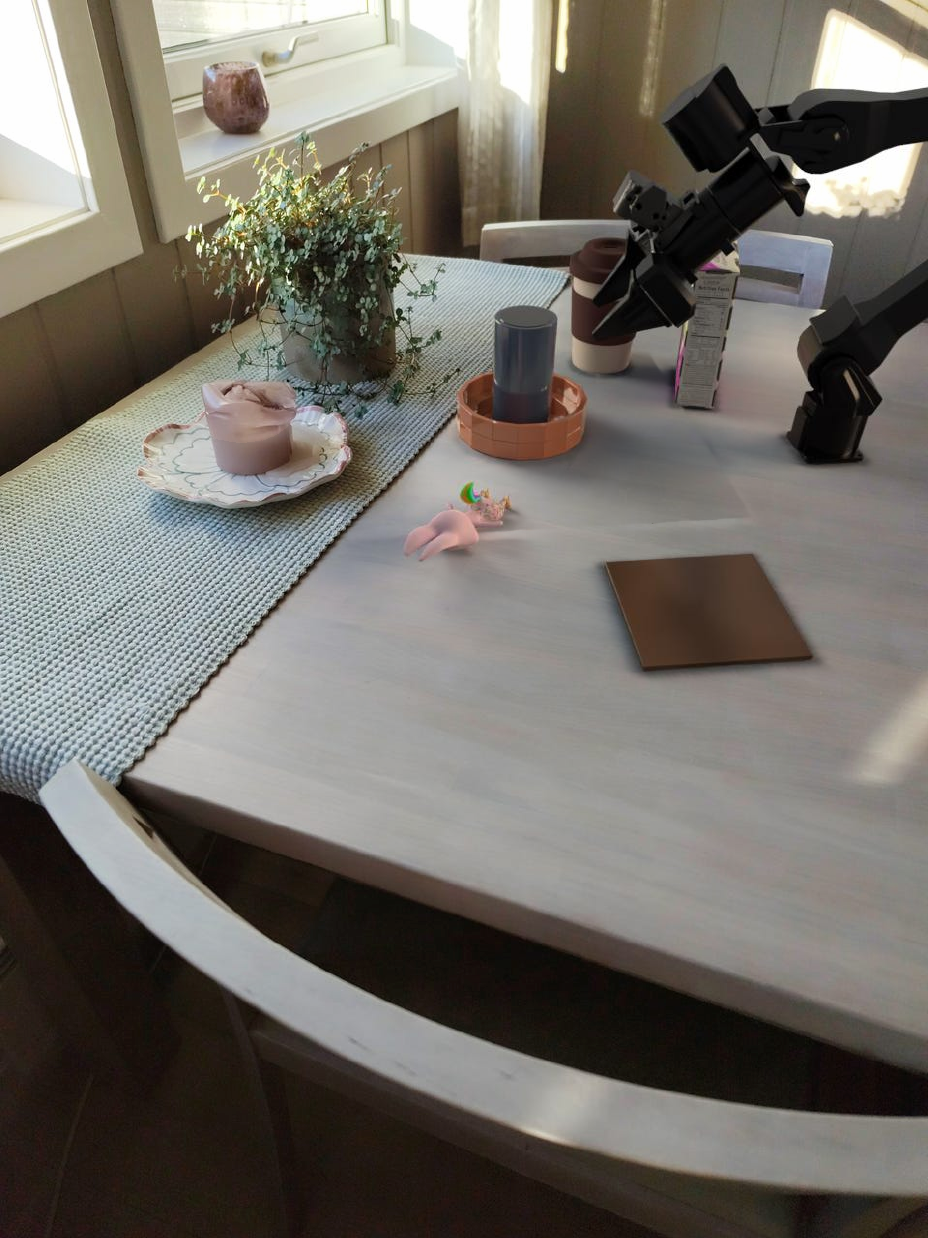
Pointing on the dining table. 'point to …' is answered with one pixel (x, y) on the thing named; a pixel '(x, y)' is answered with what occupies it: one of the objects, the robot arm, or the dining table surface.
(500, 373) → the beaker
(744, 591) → the board
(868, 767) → the dining table surface
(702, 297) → the candy bar box
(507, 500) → the rabbit figure
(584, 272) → the coffee cup
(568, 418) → the bowl
